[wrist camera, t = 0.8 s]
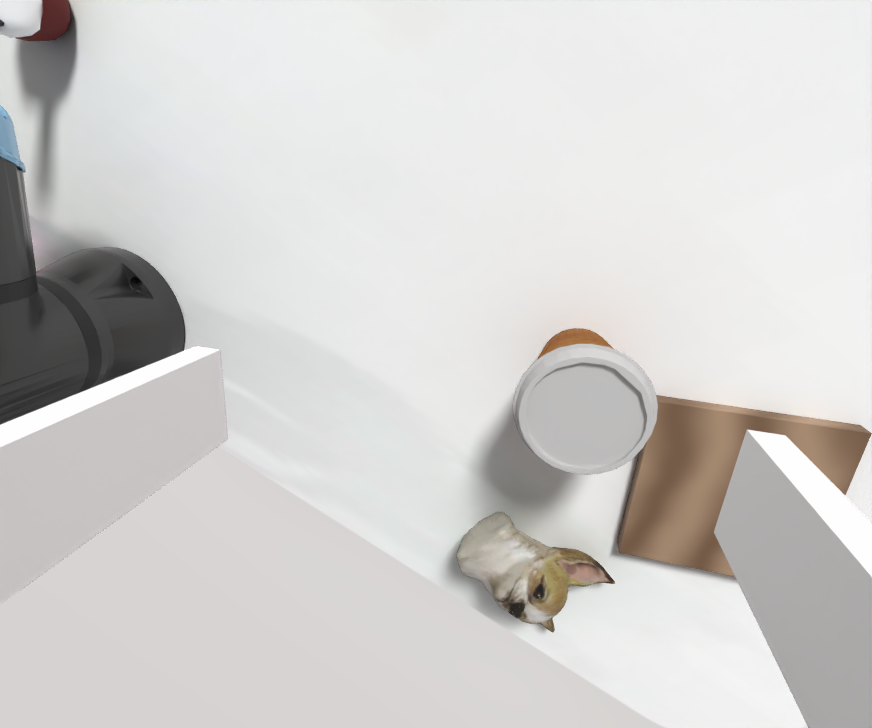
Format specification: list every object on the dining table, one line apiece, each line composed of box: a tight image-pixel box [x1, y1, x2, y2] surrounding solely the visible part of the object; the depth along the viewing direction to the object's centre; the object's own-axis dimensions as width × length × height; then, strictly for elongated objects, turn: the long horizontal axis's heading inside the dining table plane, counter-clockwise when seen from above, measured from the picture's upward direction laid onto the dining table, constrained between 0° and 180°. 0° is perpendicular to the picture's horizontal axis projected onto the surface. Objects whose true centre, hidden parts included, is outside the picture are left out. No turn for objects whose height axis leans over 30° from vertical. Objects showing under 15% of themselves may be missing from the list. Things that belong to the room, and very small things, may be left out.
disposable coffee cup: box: [513, 329, 658, 475], centre depth 37 cm, size 10×10×12 cm
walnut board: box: [617, 395, 872, 577], centre depth 43 cm, size 16×16×2 cm
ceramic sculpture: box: [456, 512, 615, 632], centre depth 47 cm, size 11×9×15 cm
